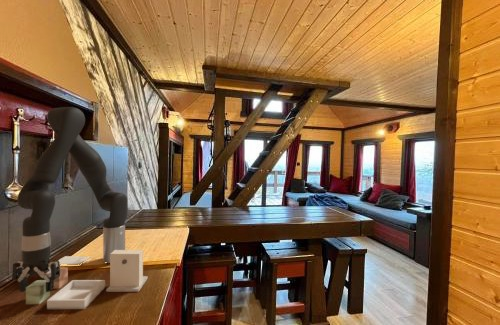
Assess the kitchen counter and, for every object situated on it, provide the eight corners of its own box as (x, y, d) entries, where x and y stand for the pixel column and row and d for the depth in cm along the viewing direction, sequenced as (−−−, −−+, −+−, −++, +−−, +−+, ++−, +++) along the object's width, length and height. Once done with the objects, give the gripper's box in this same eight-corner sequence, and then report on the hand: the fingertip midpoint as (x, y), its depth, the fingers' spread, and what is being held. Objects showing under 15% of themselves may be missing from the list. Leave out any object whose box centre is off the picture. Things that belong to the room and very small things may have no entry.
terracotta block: (56, 282, 94) (56, 267, 93) (67, 282, 94) (67, 267, 94) (47, 288, 89) (46, 273, 89) (59, 288, 89) (59, 273, 89)
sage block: (37, 296, 85) (36, 280, 84) (50, 296, 85) (49, 280, 85) (26, 304, 80) (25, 287, 80) (39, 304, 81) (39, 287, 80)
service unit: (118, 278, 97) (118, 246, 97) (147, 278, 98) (147, 246, 97) (106, 291, 88) (106, 255, 88) (138, 291, 89) (138, 256, 88)
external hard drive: (66, 258, 114) (91, 259, 114) (51, 267, 106) (79, 268, 106) (65, 255, 114) (91, 256, 114) (51, 263, 106) (79, 264, 106)
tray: (72, 287, 90) (72, 280, 90) (105, 287, 91) (105, 280, 91) (47, 309, 78) (46, 300, 78) (84, 309, 79) (84, 300, 78)
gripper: (65, 241, 86) (65, 284, 86) (25, 241, 85) (25, 284, 85) (49, 250, 78) (49, 297, 79) (4, 250, 77) (4, 297, 78)
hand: (36, 290), depth 82 cm, fingers open, 8 cm apart
